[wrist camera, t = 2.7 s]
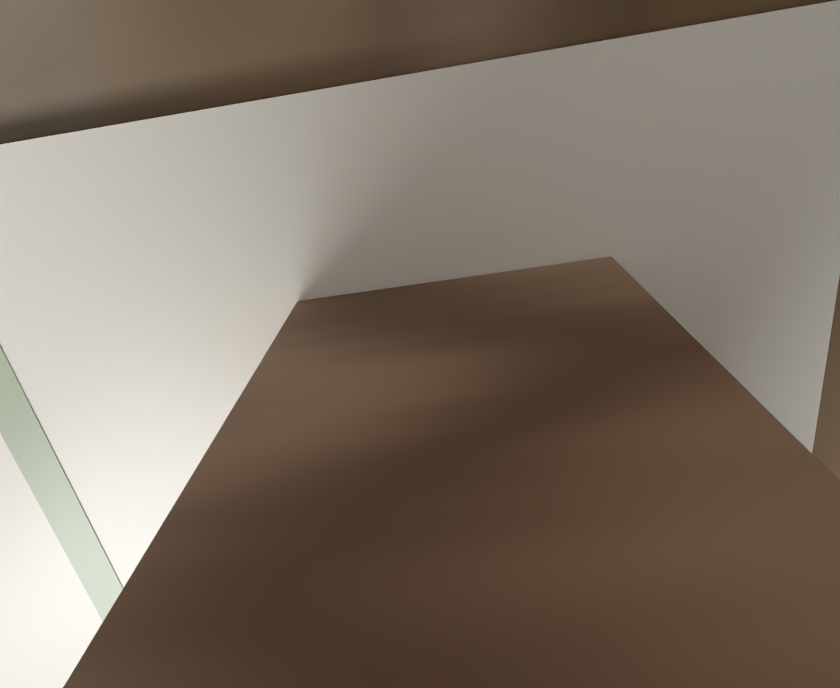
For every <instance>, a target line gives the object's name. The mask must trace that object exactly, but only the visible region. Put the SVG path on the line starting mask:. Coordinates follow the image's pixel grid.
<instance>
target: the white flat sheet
mask: <svg viewBox="0 0 840 688" xmlns="http://www.w3.org/2000/svg"><path fill="white" fill-rule="evenodd" d="M604 257H612V258H614V259H615V260H616V261H617V262H618V263H619V264H620V265H621V266H622V267H623V268H624V269H625V270H626V271H627V272H628V273H629V274H630V275H631V276H632V277H633V278H634V279H635V280H636V281H637V282H638V283H639V284H640V285H641V286H642V287H643V288H644V289H645V290H646V291H647V292H648V293H649V294H650V295H651V296H652V297H653V298H654V299H655V300H656V301H657V302H658V303H659V304H660V305H661V306H662V307H663V308H664V309H665V310H666V311H667V312H668V313H669V314H670V315H671V316H673V317H674V318H675V319H676V320H677V321H678V322H679V323H680V324H681V325H682V326H683V327H684V328H685V329H686V330H687V331H688V332H689V333H690V334H691V335H692V336H693V337H694V338H695V339H696V340H697V341H698V342H699V343H700V344H701V345H702V346H703V347H704V348H705V349H706V350H707V351H708V352H709V353H710V354H711V355H712V356H713V357H714V358H715V359H716V360H717V361H718V362H719V363H720V364H721V365H722V366H723V367H724V368H725V369H726V370H727V371H728V372H729V373H730V374H731V375H733V376H734V377H735V378H736V379H737V380H738V381H739V382H740V383H741V384H742V385H743V386H744V387H745V388H746V389H747V390H748V391H749V392H750V393H751V394H752V395H753V396H754V397H755V398H756V399H757V400H758V401H759V402H760V403H761V404H762V405H763V406H764V407H765V408H766V409H767V410H768V411H769V412H770V413H771V414H772V415H773V416H774V417H775V418H776V419H777V420H778V421H779V422H780V423H781V424H782V425H783V426H784V427H785V428H786V429H787V430H788V431H789V432H790V433H792V434H793V435H794V436H795V437H796V438H797V439H798V440H799V441H800V442H801V443H802V444H803V445H804V446H805V447H806V448H807V449H808V450H809V451H810V452H811V453H812V451H813V445H814V438H815V432H816V425H817V419H818V412H819V406H820V399H821V393H822V386H823V380H824V373H825V367H826V361H827V354H828V348H829V341H830V335H831V328H832V322H833V315H834V309H835V302H836V296H837V289H838V283H839V276H840V0H836V1H830V2H824V3H818V4H813V5H807V6H801V7H795V8H789V9H784V10H778V11H772V12H766V13H760V14H755V15H749V16H743V17H737V18H731V19H726V20H720V21H714V22H708V23H702V24H697V25H691V26H685V27H679V28H673V29H668V30H662V31H656V32H650V33H644V34H639V35H633V36H627V37H621V38H615V39H610V40H604V41H598V42H592V43H586V44H581V45H575V46H569V47H563V48H557V49H552V50H546V51H540V52H534V53H528V54H523V55H517V56H511V57H505V58H499V59H494V60H488V61H482V62H476V63H470V64H465V65H459V66H453V67H447V68H441V69H435V70H430V71H424V72H418V73H412V74H406V75H401V76H395V77H389V78H383V79H377V80H372V81H366V82H360V83H354V84H348V85H343V86H337V87H331V88H325V89H319V90H314V91H308V92H302V93H296V94H290V95H285V96H279V97H273V98H267V99H261V100H256V101H250V102H244V103H238V104H232V105H227V106H221V107H215V108H209V109H203V110H198V111H192V112H186V113H180V114H174V115H169V116H163V117H157V118H151V119H145V120H140V121H134V122H128V123H122V124H116V125H111V126H105V127H99V128H93V129H87V130H82V131H76V132H70V133H64V134H58V135H53V136H47V137H41V138H35V139H29V140H24V141H18V142H12V143H6V144H0V688H63V687H64V685H65V684H66V682H67V680H68V679H69V677H70V675H71V674H72V672H73V670H74V669H75V667H76V665H77V664H78V662H79V661H80V659H81V657H82V656H83V654H84V652H85V651H86V649H87V647H88V646H89V644H90V642H91V641H92V639H93V637H94V636H95V634H96V632H97V631H98V629H99V628H100V626H101V624H102V623H103V621H104V619H105V618H106V616H107V614H108V613H109V611H110V609H111V608H112V606H113V604H114V603H115V601H116V600H117V598H118V596H119V595H120V593H121V591H122V590H123V588H124V586H125V585H126V583H127V581H128V580H129V578H130V576H131V575H132V573H133V571H134V570H135V568H136V567H137V565H138V563H139V562H140V560H141V558H142V557H143V555H144V553H145V552H146V550H147V548H148V547H149V545H150V543H151V542H152V540H153V538H154V537H155V535H156V534H157V532H158V530H159V529H160V527H161V525H162V524H163V522H164V520H165V519H166V517H167V515H168V514H169V512H170V510H171V509H172V507H173V506H174V504H175V502H176V501H177V499H178V497H179V496H180V494H181V492H182V491H183V489H184V487H185V486H186V484H187V482H188V481H189V479H190V477H191V476H192V474H193V473H194V471H195V469H196V468H197V466H198V464H199V463H200V461H201V459H202V458H203V456H204V454H205V453H206V451H207V449H208V448H209V446H210V444H211V443H212V441H213V440H214V438H215V436H216V435H217V433H218V431H219V430H220V428H221V426H222V425H223V423H224V421H225V420H226V418H227V416H228V415H229V413H230V412H231V410H232V408H233V407H234V405H235V403H236V402H237V400H238V398H239V397H240V395H241V393H242V392H243V390H244V388H245V387H246V385H247V383H248V382H249V380H250V379H251V377H252V375H253V374H254V372H255V370H256V369H257V367H258V365H259V364H260V362H261V360H262V359H263V357H264V355H265V354H266V352H267V350H268V349H269V347H270V346H271V344H272V342H273V341H274V339H275V337H276V336H277V334H278V332H279V331H280V329H281V327H282V326H283V324H284V322H285V321H286V319H287V318H288V316H289V314H290V313H291V311H292V309H293V308H294V306H295V304H296V303H297V301H302V300H309V299H316V298H323V297H330V296H337V295H344V294H351V293H358V292H365V291H372V290H379V289H386V288H393V287H400V286H407V285H414V284H421V283H428V282H435V281H442V280H449V279H456V278H463V277H470V276H478V275H485V274H492V273H499V272H506V271H513V270H520V269H527V268H534V267H541V266H548V265H555V264H562V263H569V262H576V261H583V260H590V259H597V258H604Z"/></svg>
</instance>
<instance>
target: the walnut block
mask: <svg viewBox="0 0 840 688" xmlns="http://www.w3.org/2000/svg"><path fill="white" fill-rule="evenodd" d="M63 688H840V481H839V480H838V479H837V478H836V477H835V476H834V475H833V474H832V473H831V472H830V471H829V470H828V469H827V468H826V467H825V466H824V465H823V464H822V463H821V462H820V461H819V460H818V459H817V458H816V457H815V456H814V455H813V454H812V453H811V452H810V451H809V450H808V449H807V448H806V447H805V446H804V445H803V444H802V443H801V442H800V441H799V440H798V439H797V438H796V437H795V436H794V435H793V434H792V433H790V432H789V431H788V430H787V429H786V428H785V427H784V426H783V425H782V424H781V423H780V422H779V421H778V420H777V419H776V418H775V417H774V416H773V415H772V414H771V413H770V412H769V411H768V410H767V409H766V408H765V407H764V406H763V405H762V404H761V403H760V402H759V401H758V400H757V399H756V398H755V397H754V396H753V395H752V394H751V393H750V392H749V391H748V390H747V389H746V388H745V387H744V386H743V385H742V384H741V383H740V382H739V381H738V380H737V379H736V378H735V377H734V376H733V375H731V374H730V373H729V372H728V371H727V370H726V369H725V368H724V367H723V366H722V365H721V364H720V363H719V362H718V361H717V360H716V359H715V358H714V357H713V356H712V355H711V354H710V353H709V352H708V351H707V350H706V349H705V348H704V347H703V346H702V345H701V344H700V343H699V342H698V341H697V340H696V339H695V338H694V337H693V336H692V335H691V334H690V333H689V332H688V331H687V330H686V329H685V328H684V327H683V326H682V325H681V324H680V323H679V322H678V321H677V320H676V319H675V318H674V317H673V316H671V315H670V314H669V313H668V312H667V311H666V310H665V309H664V308H663V307H662V306H661V305H660V304H659V303H658V302H657V301H656V300H655V299H654V298H653V297H652V296H651V295H650V294H649V293H648V292H647V291H646V290H645V289H644V288H643V287H642V286H641V285H640V284H639V283H638V282H637V281H636V280H635V279H634V278H633V277H632V276H631V275H630V274H629V273H628V272H627V271H626V270H625V269H624V268H623V267H622V266H621V265H620V264H619V263H618V262H617V261H616V260H615V259H614V258H612V257H604V258H597V259H590V260H583V261H576V262H569V263H562V264H555V265H548V266H541V267H534V268H527V269H520V270H513V271H506V272H499V273H492V274H485V275H478V276H470V277H463V278H456V279H449V280H442V281H435V282H428V283H421V284H414V285H407V286H400V287H393V288H386V289H379V290H372V291H365V292H358V293H351V294H344V295H337V296H330V297H323V298H316V299H309V300H302V301H297V303H296V304H295V306H294V308H293V309H292V311H291V313H290V314H289V316H288V318H287V319H286V321H285V322H284V324H283V326H282V327H281V329H280V331H279V332H278V334H277V336H276V337H275V339H274V341H273V342H272V344H271V346H270V347H269V349H268V350H267V352H266V354H265V355H264V357H263V359H262V360H261V362H260V364H259V365H258V367H257V369H256V370H255V372H254V374H253V375H252V377H251V379H250V380H249V382H248V383H247V385H246V387H245V388H244V390H243V392H242V393H241V395H240V397H239V398H238V400H237V402H236V403H235V405H234V407H233V408H232V410H231V412H230V413H229V415H228V416H227V418H226V420H225V421H224V423H223V425H222V426H221V428H220V430H219V431H218V433H217V435H216V436H215V438H214V440H213V441H212V443H211V444H210V446H209V448H208V449H207V451H206V453H205V454H204V456H203V458H202V459H201V461H200V463H199V464H198V466H197V468H196V469H195V471H194V473H193V474H192V476H191V477H190V479H189V481H188V482H187V484H186V486H185V487H184V489H183V491H182V492H181V494H180V496H179V497H178V499H177V501H176V502H175V504H174V506H173V507H172V509H171V510H170V512H169V514H168V515H167V517H166V519H165V520H164V522H163V524H162V525H161V527H160V529H159V530H158V532H157V534H156V535H155V537H154V538H153V540H152V542H151V543H150V545H149V547H148V548H147V550H146V552H145V553H144V555H143V557H142V558H141V560H140V562H139V563H138V565H137V567H136V568H135V570H134V571H133V573H132V575H131V576H130V578H129V580H128V581H127V583H126V585H125V586H124V588H123V590H122V591H121V593H120V595H119V596H118V598H117V600H116V601H115V603H114V604H113V606H112V608H111V609H110V611H109V613H108V614H107V616H106V618H105V619H104V621H103V623H102V624H101V626H100V628H99V629H98V631H97V632H96V634H95V636H94V637H93V639H92V641H91V642H90V644H89V646H88V647H87V649H86V651H85V652H84V654H83V656H82V657H81V659H80V661H79V662H78V664H77V665H76V667H75V669H74V670H73V672H72V674H71V675H70V677H69V679H68V680H67V682H66V684H65V685H64V687H63Z"/></svg>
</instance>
